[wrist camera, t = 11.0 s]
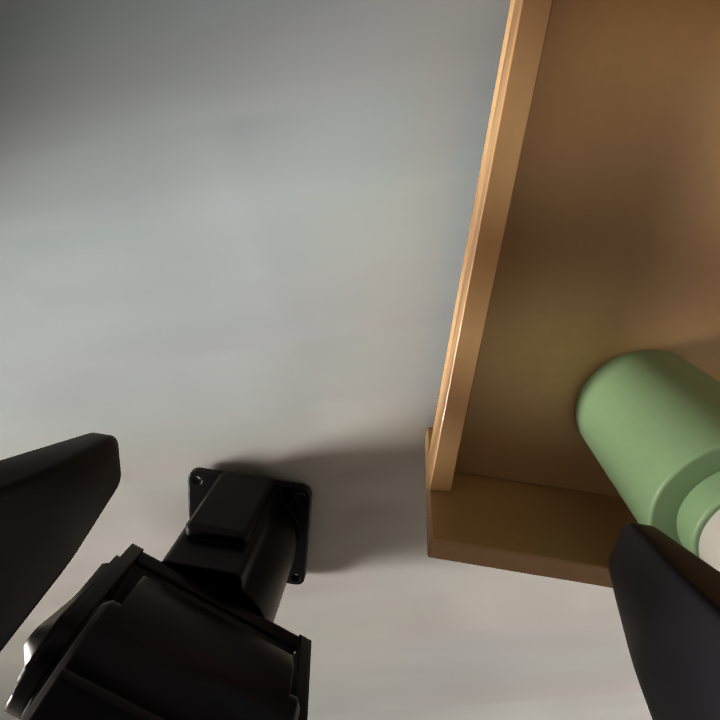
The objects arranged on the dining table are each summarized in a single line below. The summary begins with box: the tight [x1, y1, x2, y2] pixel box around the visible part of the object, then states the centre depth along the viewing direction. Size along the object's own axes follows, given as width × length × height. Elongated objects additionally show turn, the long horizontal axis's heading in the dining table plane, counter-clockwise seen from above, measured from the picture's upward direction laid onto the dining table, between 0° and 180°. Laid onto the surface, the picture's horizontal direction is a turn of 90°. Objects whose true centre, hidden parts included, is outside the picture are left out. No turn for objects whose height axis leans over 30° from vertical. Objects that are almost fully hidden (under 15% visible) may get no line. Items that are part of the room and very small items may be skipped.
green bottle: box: [575, 350, 720, 572], centre depth 13 cm, size 4×4×8 cm
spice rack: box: [425, 0, 720, 588], centre depth 15 cm, size 19×14×8 cm
